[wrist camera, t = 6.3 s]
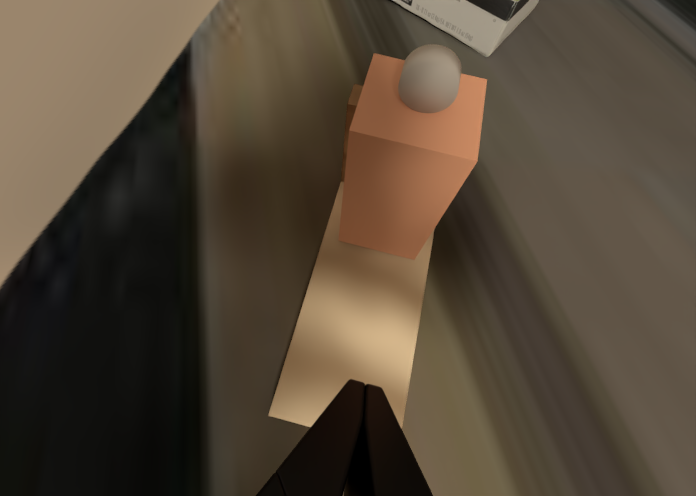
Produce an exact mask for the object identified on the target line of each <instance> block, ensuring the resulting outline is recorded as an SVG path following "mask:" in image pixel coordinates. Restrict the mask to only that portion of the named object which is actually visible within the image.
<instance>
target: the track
mask: <svg viewBox="0 0 696 496" xmlns="http://www.w3.org/2000/svg"><path fill="white" fill-rule="evenodd" d="M362 89H363V86H361V85H357V84H354V86H353V89H352V92H351V95H350V97H349V100H348V103H347V114H346V126H345V139H344V151H343V163H342V175H341V183H340V186H339V189H338V192H337V196H336V199H335V202H334V205H333V209H332V212H331V215H330V218H329V221H328V225H327V228H326V231H325V234H324V238H323V241H322V244H321V247H320V250H319V254H318V257H317V260H316V263H315V267H314V270H313V273H312V276H311V279H310V283H309V286H308V289H307V292H306V296H305V299H304V302H303V305H302V308H301V312H300V315H299V318H298V321H297V325H296V328H295V331H294V334H293V337H292V341H291V344H290V347H289V350H288V354H287V357H286V360H285V363H284V366H283V370H282V373H281V376H280V379H279V383H278V386H277V389H276V392H275V395H274V399H273V402H272V405H271V408H270V412H269V415H268V416H272V417H275V418H279V419H283V420H286V421H290V422H293V423H297V424H301V425H304V426H308V427H311V426H312V425H313V424H314V423H315V421H316V420H317V419H318V418H319V416H320V415H321V414H322V413H323V411H324V410H325V409H326V408H327V406H328V405H329V404H330V402H331V401H332V400H333V399H334V397H335V396H336V395H337V394H338V392H339V391H340V390H341V389H342V387H343V386H344V385H345V384H346V382H347V381H348V380H349V379H354V380H357V381H361V382H364V384H365V385H366V384H372V385H376V386H379V387H381V388H382V389H383V391H384V393H385V395H386V397H387V399H388V401H389V404H390V406H391V408H392V410H393V412H394V414H395V416H396V418H397V421H398V423H399V425H400V427H401V429H402V425H403V419H404V412H405V406H406V400H407V394H408V388H409V382H410V376H411V370H412V364H413V358H414V352H415V345H416V339H417V333H418V327H419V321H420V315H421V309H422V303H423V297H424V291H425V285H426V278H427V272H428V266H429V260H430V254H431V248H432V242H433V236H434V230H435V228H434V230H433V231H432V233H431V235H430V236H429V238H428V239H427V241H426V242H425V244H424V246H423V247H422V249H421V250H420V252H419V253H418V255H417V256H416V258H415V260H413V259H409V258H405V257H401V256H397V255H393V254H389V253H385V252H381V251H377V250H373V249H369V248H365V247H361V246H358V245H354V244H350V243H346V242H342V241H338V240H339V229H340V219H341V209H342V199H343V188H344V178H345V168H346V157H347V147H348V137H349V129H350V126H351V123H352V120H353V117H354V114H355V111H356V107H357V104H358V101H359V98H360V95H361V92H362Z"/></svg>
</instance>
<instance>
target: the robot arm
mask: <svg viewBox="0 0 696 496" xmlns="http://www.w3.org/2000/svg"><path fill="white" fill-rule="evenodd" d="M344 488H345V489H344ZM343 491H344V496H433V495H432V493H431V490H430V488H429V486H428V484H427V482H426V480H425V478H424V476H423V473H422V471H421V469H420V467H419V465H418V463H417V461H416V459H415V457H414V454H413V452H412V450H411V448H410V446H409V444H408V442H407V440H406V437H405V435H404V433H403V431H402V429H401V427H400V425H399V423H398V421H397V418H396V416H395V414H394V412H393V410H392V408H391V406H390V404H389V401H388V399H387V397H386V395H385V393H384V391H383V389H382V388H381V387H379V386H376V385H372V384H366V385H365V384H364V382H361V381H357V380H354V379H349V380H348V381H347V382H346V384H345V385H344V386H343V387H342V389H341V390H340V391H339V392H338V394H337V395H336V396H335V397H334V399H333V400H332V401H331V402H330V404H329V405H328V406H327V408H326V409H325V410H324V411H323V413H322V414H321V415H320V416H319V418H318V419H317V420H316V421H315V423H314V424H313V425H312V426H311V428H310V429H309V430H308V431H307V433H306V434H305V435H304V436H303V438H302V439H301V440H300V441H299V443H298V444H297V445H296V447H295V448H294V449H293V450H292V452H291V453H290V454H289V455H288V457H287V458H286V459H285V460H284V462H283V463H282V464H281V465H280V467H279V468H278V469H277V470H276V473H274V474H273V475H272V476H271V478H270V479H269V480H268V481H267V483H266V484H265V485H264V486H263V488H262V489H261V490H260V491H259V492H258V494H257V495H256V496H342V495H343Z"/></svg>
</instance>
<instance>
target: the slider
mask: <svg viewBox="0 0 696 496" xmlns="http://www.w3.org/2000/svg"><path fill="white" fill-rule="evenodd" d="M486 84H487V79H483V78H478V77H474V76H470V75H465V74H461V63H460V60H459V58H458V57H457V55H456V54H455V53H454V52H453V51H452V50H450V49H449V48H447V47H445V46H441V45H436V44H430V45H424V46H421V47H419V48H417V49H415V50H414V51H412V52H411V53H410V54H409V55H408V57H407V58H406V60H401V59H396V58H392V57H388V56H384V55H379V54H375V53H374V55H373V58H372V61H371V64H370V67H369V70H368V73H367V76H366V80H365V83H364V86H363V89H362V92H361V95H360V98H359V101H358V104H357V107H356V111H355V114H354V117H353V120H352V123H351V126H350V129H349V137H348V147H347V157H346V168H345V178H344V188H343V199H342V209H341V219H340V229H339V240H338V241H342V242H346V243H350V244H354V245H358V246H361V247H365V248H369V249H373V250H377V251H381V252H385V253H389V254H393V255H397V256H401V257H405V258H409V259H413V260H415V258H416V256H417V255H418V253H419V252H420V250H421V249H422V247H423V246H424V244H425V242H426V241H427V239H428V238H429V236H430V235H431V233H432V231H433V230H434V228H435V227H436V225H437V224H438V222H439V221H440V219H441V217H442V216H443V214H444V213H445V211H446V210H447V208H448V206H449V205H450V203H451V202H452V200H453V199H454V197H455V196H456V194H457V192H458V191H459V189H460V188H461V186H462V185H463V183H464V181H465V180H466V178H467V177H468V175H469V174H470V172H471V170H472V169H473V167H474V166H475V164H476V163H477V160H478V152H479V143H480V135H481V126H482V118H483V109H484V101H485V92H486Z"/></svg>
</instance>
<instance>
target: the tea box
mask: <svg viewBox="0 0 696 496" xmlns="http://www.w3.org/2000/svg"><path fill="white" fill-rule="evenodd" d="M392 1H394V2H396V3H398V4H399V5H401V6H402V7H404V8H405V9H407V10H409V11H410V12H412V13H414V14H416V15H418V16H420V17H422V18H423V19H425V20H427V21H428V22H430V23H431V24H433V25H434V26H436V27H438V28H439V29H441V30H443V31H445V32H446V33H448V34H450V35H452V36H453V37H455V38H456V39H458V40H460V41H461V42H463V43H465V44H466V45H468V46H469V47H471V48H473V49H474V50H476V51H477V52H479V53H480V54H482V55H484V56H485V57H488V56H489V55H491V54H492V53H493V52H494V51H495V49H496V48H497V47H498V46H499V45H500V44H501V43H502V42H503V40H504V39H505V38H506V37H507V36H509V35H510V33H511V32H512V31H513V30H514V29H515V28H516V27H517V26H518V25H519V24H520V23H521V22H522V21H523V20H524V19H525V18H526V17H527V16H528V15H529V14H530V12H531V11H532V10H533V9H534V8H535V6H536V5H537V3H538V1H539V0H392Z"/></svg>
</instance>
